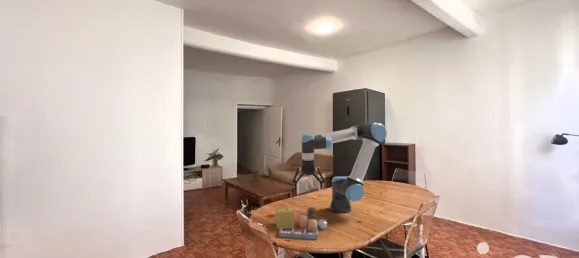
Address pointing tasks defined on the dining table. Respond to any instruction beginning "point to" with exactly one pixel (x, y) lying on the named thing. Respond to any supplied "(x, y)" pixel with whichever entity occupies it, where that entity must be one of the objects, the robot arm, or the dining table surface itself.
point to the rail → (298, 234)
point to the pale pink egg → (312, 225)
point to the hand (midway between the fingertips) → (308, 193)
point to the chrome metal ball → (321, 224)
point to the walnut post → (311, 213)
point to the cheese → (285, 218)
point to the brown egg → (303, 221)
